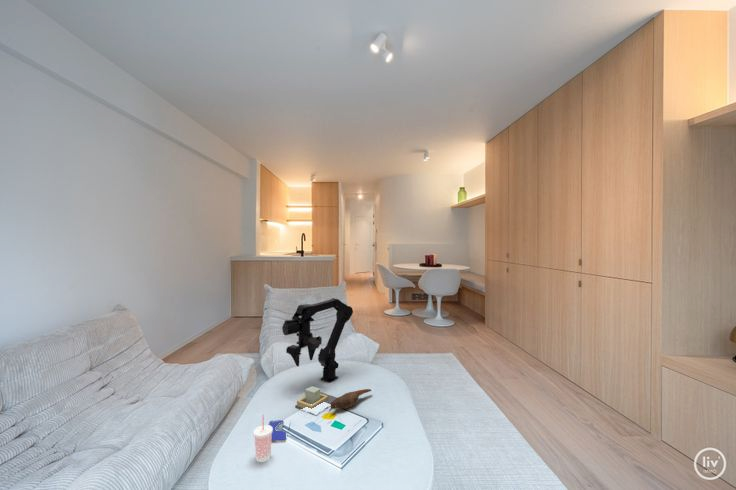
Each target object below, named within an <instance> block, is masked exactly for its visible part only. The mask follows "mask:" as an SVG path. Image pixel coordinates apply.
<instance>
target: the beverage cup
mask: <svg viewBox="0 0 736 490" xmlns="http://www.w3.org/2000/svg"><path fill="white" fill-rule="evenodd" d="M261 417H262V419H261V422H262V425H259V426H257V427H255V428H254V430H253V438H254V448H255V449H254V450H255V451H254V452H255V460H256V461H257V462H259V463H263V462H266V461H268V460H270V458H271V455H272V454H271V453H272V443H271V438H272V432H273V427H272V426H270V425H269V424H265V419H264V418H265V416H264V414H262V416H261Z"/></svg>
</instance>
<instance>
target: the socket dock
mask: <svg viewBox="0 0 736 490" xmlns="http://www.w3.org/2000/svg"><path fill="white" fill-rule="evenodd" d="M336 398H338V396H334V395H330V394H328V393H324V392H321V391H320V400H318V401H317V402H315V403H314V404H312V405H311V404H308V403H305V396H303V397H301V398H299V399H298V400H297V401H296V404H295V407H294V408H295V409H298V410H300V409H303V408H305V407H308V408H311V409H312V408H314V407H316V406H317V405H319V404H321V403H323V402H325V401H328V402H330V403H331V402H332V401H334V400H335V399H336Z"/></svg>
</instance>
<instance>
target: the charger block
mask: <svg viewBox="0 0 736 490" xmlns="http://www.w3.org/2000/svg"><path fill="white" fill-rule="evenodd" d="M320 392H321V388H319V387H315V386H313V385H312V386H309V387H307V388H306V389H305V392H304V393H305V394H304V397H305V403H308V404H314V403H315V402H317V401H318V400H320Z"/></svg>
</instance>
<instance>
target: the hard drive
mask: <svg viewBox="0 0 736 490" xmlns="http://www.w3.org/2000/svg"><path fill="white" fill-rule="evenodd" d="M283 420H284V419H282V420H281V419H278V420H269V423H268V425H270V426H272V427H273V432H272V438H271V444H273V443H274V444H275V443H286V441H287V438H286V433H285V432H283V431H276V430H275V427H276V426H277V425H278V424H279V423H281V422H283Z"/></svg>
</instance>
